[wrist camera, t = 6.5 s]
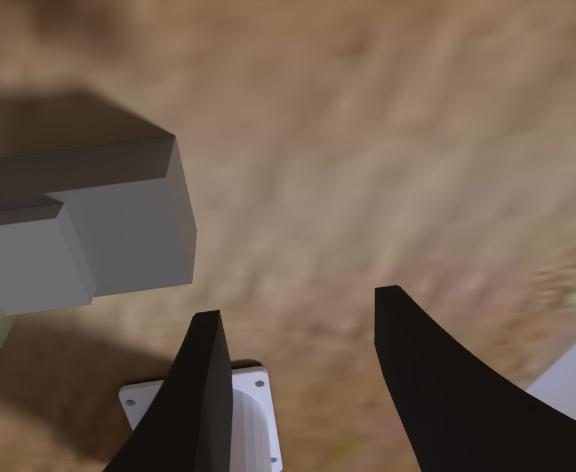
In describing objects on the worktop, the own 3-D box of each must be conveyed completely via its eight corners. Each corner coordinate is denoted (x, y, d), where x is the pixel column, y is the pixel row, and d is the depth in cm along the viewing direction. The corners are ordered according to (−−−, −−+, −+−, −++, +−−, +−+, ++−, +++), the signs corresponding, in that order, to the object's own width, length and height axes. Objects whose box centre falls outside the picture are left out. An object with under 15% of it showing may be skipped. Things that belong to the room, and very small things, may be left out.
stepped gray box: (196, 229, 22) (190, 300, 18) (39, 250, 22) (-4, 327, 18) (175, 134, 20) (162, 191, 16) (-2, 156, 20) (-63, 220, 15)
